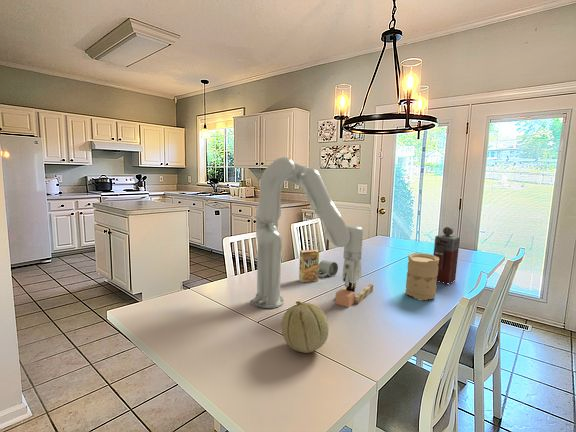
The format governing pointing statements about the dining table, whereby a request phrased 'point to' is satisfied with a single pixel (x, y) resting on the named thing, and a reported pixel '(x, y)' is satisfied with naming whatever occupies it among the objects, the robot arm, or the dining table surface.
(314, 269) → the candy box
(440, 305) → the dining table surface
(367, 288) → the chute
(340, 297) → the block
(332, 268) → the ceramic mug
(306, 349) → the cantaloupe
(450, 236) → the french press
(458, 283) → the dining table surface
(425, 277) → the container
